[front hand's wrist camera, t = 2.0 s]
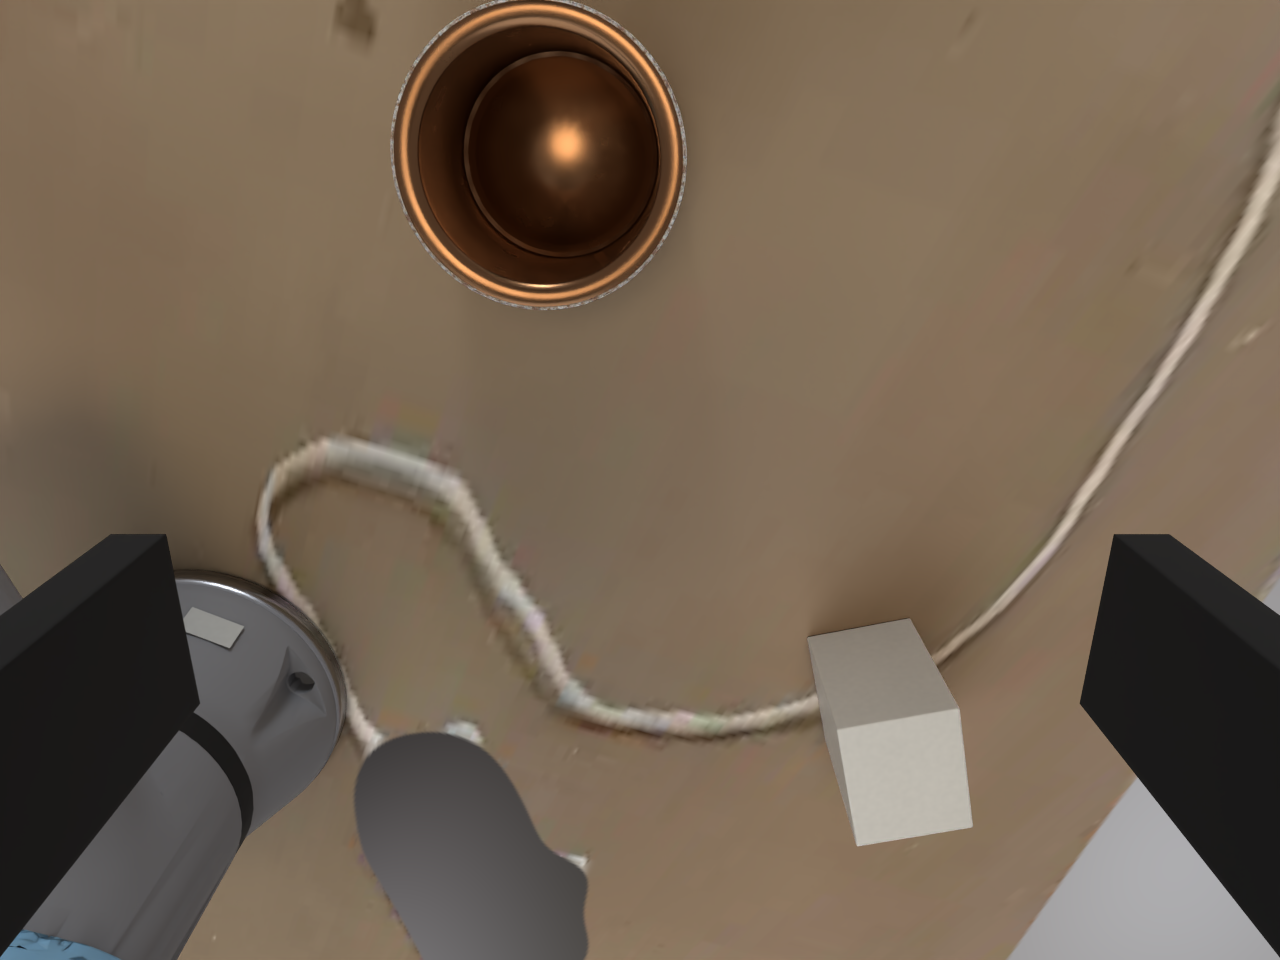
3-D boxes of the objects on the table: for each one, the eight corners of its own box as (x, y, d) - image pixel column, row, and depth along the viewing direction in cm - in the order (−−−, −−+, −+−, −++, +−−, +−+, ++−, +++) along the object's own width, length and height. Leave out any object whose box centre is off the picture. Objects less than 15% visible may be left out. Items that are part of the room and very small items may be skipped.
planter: (441, 18, 39) (379, -19, 30) (689, 33, 39) (701, 0, 30) (446, 271, 43) (392, 305, 34) (672, 284, 43) (678, 322, 34)
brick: (910, 617, 50) (959, 707, 42) (924, 723, 52) (973, 827, 44) (806, 636, 50) (836, 729, 42) (825, 740, 52) (856, 847, 45)
